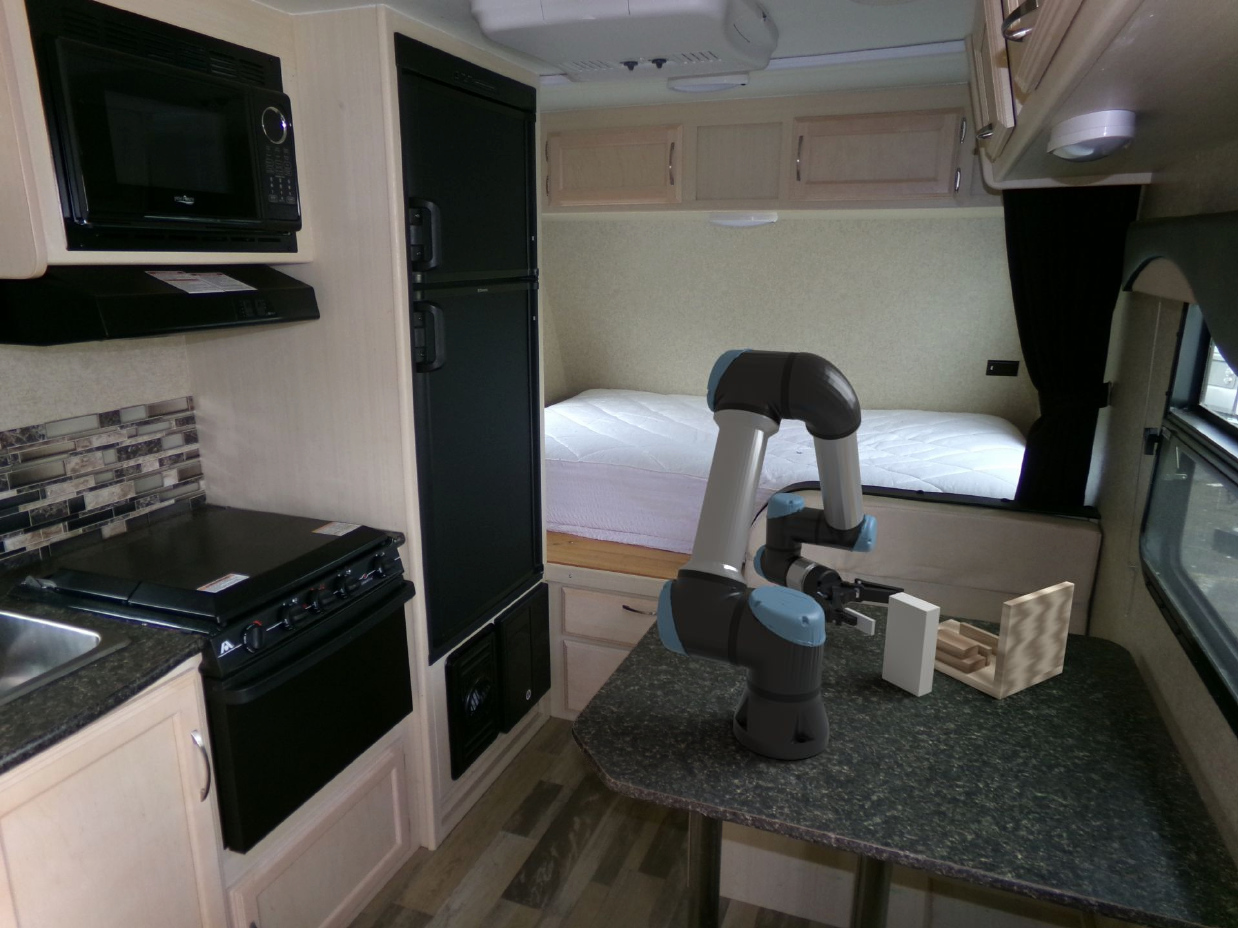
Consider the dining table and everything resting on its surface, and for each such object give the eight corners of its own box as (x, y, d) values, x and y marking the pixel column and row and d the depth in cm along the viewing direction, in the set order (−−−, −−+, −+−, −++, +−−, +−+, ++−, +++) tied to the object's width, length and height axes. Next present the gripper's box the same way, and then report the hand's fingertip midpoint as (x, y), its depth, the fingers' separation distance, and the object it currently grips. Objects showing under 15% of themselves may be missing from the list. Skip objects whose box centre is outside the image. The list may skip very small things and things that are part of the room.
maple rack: (999, 699, 143) (1011, 605, 139) (889, 646, 163) (896, 563, 159) (1061, 672, 153) (1074, 583, 149) (950, 625, 173) (959, 546, 169)
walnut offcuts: (967, 674, 149) (969, 653, 148) (921, 652, 157) (923, 633, 156) (984, 667, 151) (987, 647, 151) (938, 646, 160) (940, 627, 159)
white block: (918, 696, 144) (926, 611, 140) (882, 677, 150) (889, 595, 147) (931, 691, 146) (940, 607, 142) (894, 673, 152) (902, 592, 149)
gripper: (857, 587, 173) (942, 624, 156) (766, 612, 161) (848, 654, 143) (859, 553, 172) (946, 586, 154) (768, 576, 159) (851, 614, 141)
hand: (899, 619), depth 148 cm, fingers open, 13 cm apart
